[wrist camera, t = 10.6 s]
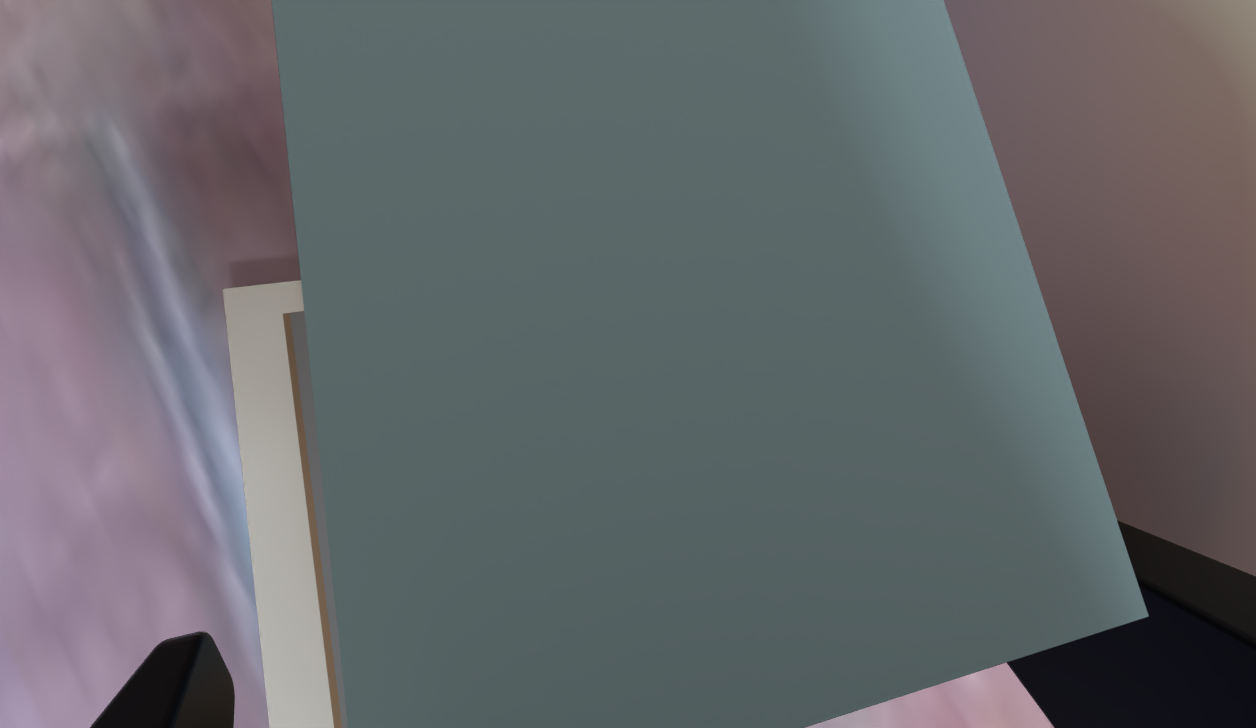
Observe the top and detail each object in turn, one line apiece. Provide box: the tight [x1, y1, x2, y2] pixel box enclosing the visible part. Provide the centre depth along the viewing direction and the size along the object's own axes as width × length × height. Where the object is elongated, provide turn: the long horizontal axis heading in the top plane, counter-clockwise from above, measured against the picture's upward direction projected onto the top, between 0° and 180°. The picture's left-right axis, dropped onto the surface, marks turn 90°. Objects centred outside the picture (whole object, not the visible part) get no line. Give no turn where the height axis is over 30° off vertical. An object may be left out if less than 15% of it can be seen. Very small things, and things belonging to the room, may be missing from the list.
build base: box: [223, 280, 348, 728], centre depth 18 cm, size 14×14×5 cm
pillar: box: [272, 0, 1149, 728], centre depth 10 cm, size 5×5×13 cm
